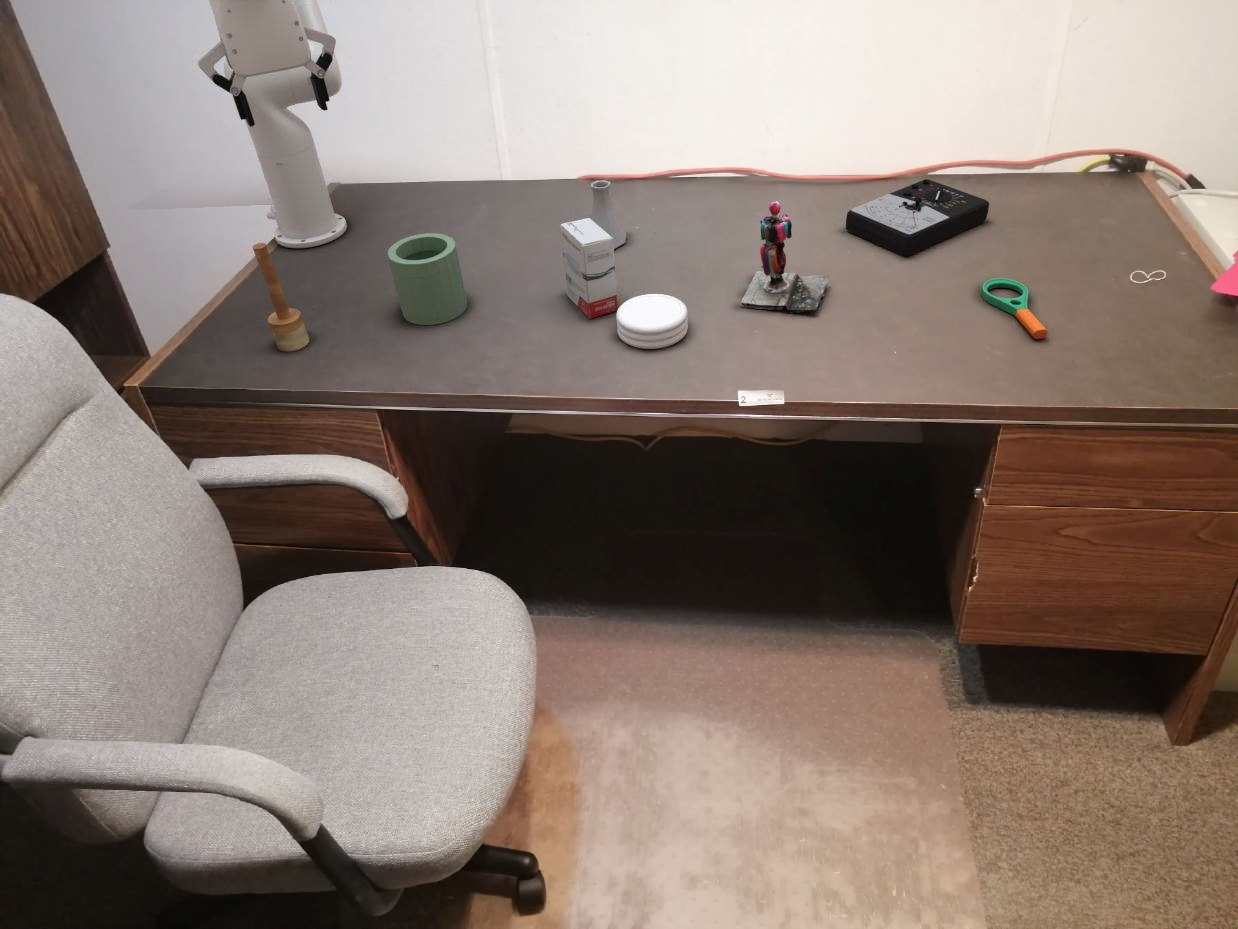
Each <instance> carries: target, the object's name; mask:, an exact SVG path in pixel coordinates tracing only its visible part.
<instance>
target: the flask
mask: <svg viewBox="0 0 1238 929" xmlns="http://www.w3.org/2000/svg"><path fill="white" fill-rule="evenodd" d="M610 188H611V181H609V180H605V179H604V180H595V181H593V182H591V184H590V189H591V191H592V194H593V195H592V197H593V200H592V210H591V215H590V217H589V218H590V219H591V220H592V221H594V222H595V223H596V224H597V225H598V226H599V227H601V228H602V229H603V230H604V231H605V232H606V233H608V234H609V235H610V236H611V237H612V238H613V242H614V250H615V249H617V248H618V247H620V246H622V245H623V244H625V243H626V240H627V233H626V230H625V229H624V227H623V225H622V222H621V221H620V219H619V217H618V214H617V212H616V210H615V207H614V205H613V201H612V198H611V194H610Z"/></svg>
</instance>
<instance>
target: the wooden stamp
mask: <svg viewBox="0 0 1238 929" xmlns="http://www.w3.org/2000/svg"><path fill="white" fill-rule="evenodd" d="M252 250H253V253H254V255H255V258H256V261H257V264H258V267H259V270H260V273H261V275H262V278H263V281H264V284H265V286H266V289H267V293H268V295H269V297H270V300H271V304H272V306H273V309H274V312H272V313H271V314H270V315H269V316H268V318H267V322H268V325H269V328H270V331H271V333H272V336H273V339H274V341H275V344H276V347H277V349H278V350H279V351H280V352H281V351H282V352H294V351H298V350H302V349H303V348H304V347H306V346H307V345H308V344H309V343H310V336H309V334H308V330H307V329H306V325H305V322H304V319H303V316H302V313H301V311H300V310H299V309H296V308H293V307H292V308H290V307H289V306H288V304H287V301H286V298H285V294H284V292H283V289H282V286H281V283H280V281H279V278H278V275H277V272H276V269H275V266H274V263H273V260H272V258H271V254H270V252H269V248H268V246H267V244H266V242H258V243H255V244H253V246H252Z"/></svg>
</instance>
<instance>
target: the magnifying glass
mask: <svg viewBox="0 0 1238 929" xmlns="http://www.w3.org/2000/svg"><path fill="white" fill-rule="evenodd" d="M996 288H1005V289H1006V288H1007V289H1011V290H1014V291H1017V292H1019V293H1020V296H1018V297H1012V298H1007V297H1001V296H1000V297H999V296H996V295H994V294H991V293H990V292H989V291H990V290H992V289H996ZM981 297H982V299H983V300H984V301H985V302H987V303H988V304H990V305H992V306H994V307H996V308H998V309H1000V310H1002V311H1004V312H1006V313H1009V314H1010V315H1012V316H1013V317H1015V318H1016V319H1017V320H1018V321H1019V322H1020V323H1021V325H1022V326H1023V327H1024V328H1025V329H1026V330H1027V332H1028V333H1029V334H1030V335H1031V336H1032V337H1033V338H1034V339H1044V338H1045V337H1047V335H1048V333H1049V330H1048V329H1047V328H1046V327H1045V326H1044V325H1043V324H1042V323H1041V321H1040V320H1038V318H1037V316H1035V315H1034V314H1033V313H1032V312H1031V310H1030V309H1029V308H1028V303H1029V302H1028V301H1029V289H1028V287H1026V285H1024V284H1023V283H1021V282H1020V281H1017V280H1014V279H1010V278H1003V277H1001V278H998V277H997V278H991V279H988V280H986V281H985V282H984V283H983V284H982V286H981Z"/></svg>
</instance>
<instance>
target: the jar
mask: <svg viewBox="0 0 1238 929" xmlns="http://www.w3.org/2000/svg"><path fill="white" fill-rule="evenodd" d="M457 249H458V248H457V245H456V241H455V240H454V239H453V237H451V236H448V235H446V234H443V233H437V232H434V233H433V232H432V233H431V232H430V233H429V232H428V233H421V234H420V233H418V234H415V235H410V236H406V237H404V238H402V239H399V240H398V241H396V242H395V243H394V244H392V245H391V246H390V247H389V249H388V250H387V258H388V263H389V267H390V270H391V274H392V279H393V282H394V287H395V290H396V291H395V292H396V294H397V298H398V302H399V306H400V309H401V311H402V312H401V313H402V316H403V318H404V319H405V320H406V321H407V322H409V323H411V324H414V325H418V326H434V325H441V324H444V323H447V322H450V321H452V320H455V319H456V318H458V317H459V316H461V315H462V314H463V313H465V311H466V309H467V306H468V301H467V294H466V289H465V283H464V279H463V275H462V268H461V264H460V259H459V254H458V250H457Z"/></svg>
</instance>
